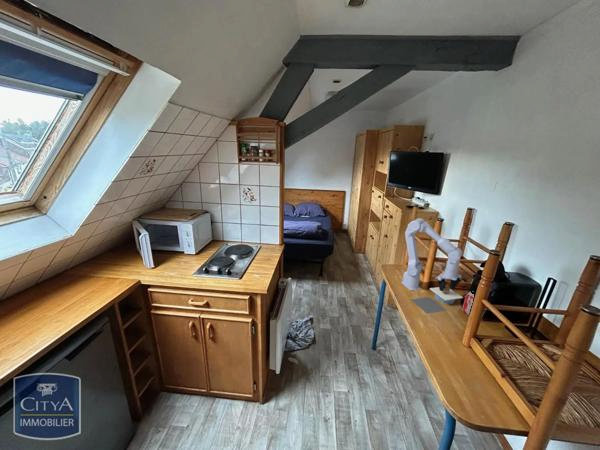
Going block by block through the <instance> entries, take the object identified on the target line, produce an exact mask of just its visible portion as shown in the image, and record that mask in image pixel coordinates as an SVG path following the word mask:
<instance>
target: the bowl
mask: <svg viewBox="0 0 600 450" xmlns="http://www.w3.org/2000/svg"><path fill="white" fill-rule="evenodd" d="M434 298H435V299H436V300H437V301H438V302H440V303H443V304H446V305H453V304H454V303H455V301H456V299H454V300H447V301H445V300H444V299H442V298H441V297H440V296H438V295H437V294H436V293H434Z"/></svg>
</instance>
